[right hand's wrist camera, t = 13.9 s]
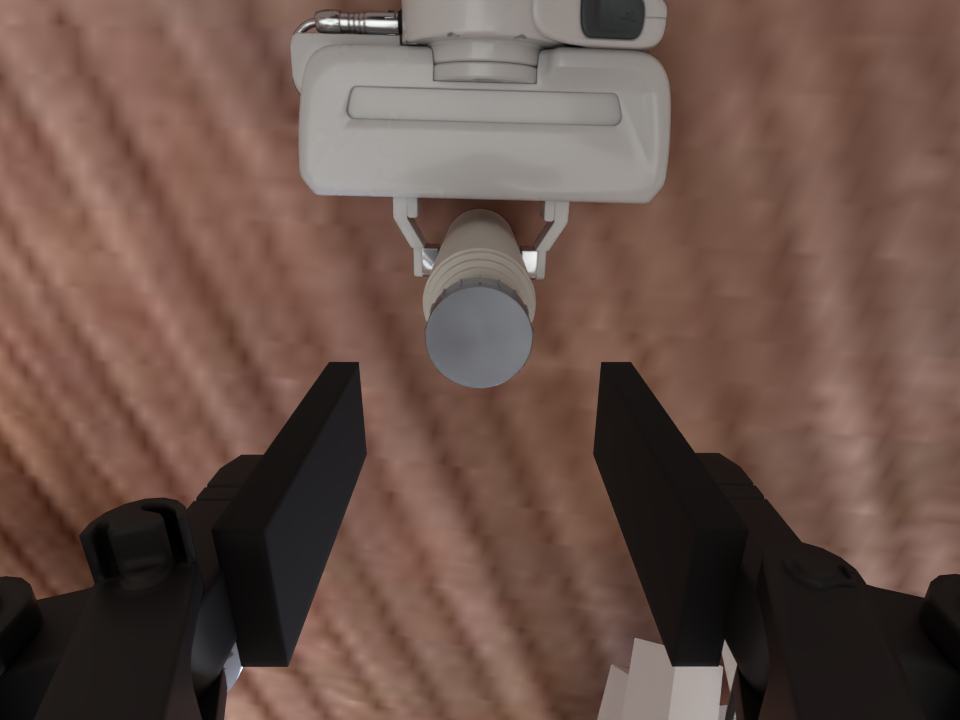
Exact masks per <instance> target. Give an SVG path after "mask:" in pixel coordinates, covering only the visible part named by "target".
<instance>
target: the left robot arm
mask: <svg viewBox="0 0 960 720" xmlns="http://www.w3.org/2000/svg"><path fill="white" fill-rule="evenodd" d="M401 5H402V9H400V11H361V12H350V13H349V12H341V10H335V9H326V10H319V11H316V12H315V17H314V18H311V19H309V20H306V21H305V22H303V23H302V24H301V25H300V26H299V27H298V28H297V29H296V30H295V32H294V34H293V36H292V39H291V44H290V55H291V66H292V77H293V82H294V85H295V88H296V90H297V91H298V93H299V95H300V96H301V97H300V109H299V169H300V175H301V177H302V179H303V180H304V182H305V183H306V184H307V185H308V187H309V188H310V189H311V190H312V191H313V192H314V193H315V194H317V195H336V196H373V197H393V218H394V220H395V221H396V223H397V225H398V226H399V228H400V230H401V231H402V233H403V235H404V236H405V238H406V240H407V241H408V243H409V245H410V246H411V248H413V255H414V276H418V277H429V275H430V273H431V270H432V268H433V265H434V263H435V260H436V258H437V255H438V253H439V251H440V244H432V243H427V242H426V240H425V238H424V236H423V234H422V233H421V231H420V229H419V227H418V225H417V224H416V222H415V220H414V218H416V217H417V216H418V215H419V214H420V213H421V198H449V199H487V200H524V201H541V214H540V215H541V217H542V218H543V219H544V220H545V221H548V222H547V223H546V225H545V227H544V228H543V230H542V231H541V233H540V235H539V236H538V238H537V239H536V241H535V243H534V244H533V246H520V253H521V255H522V258H523V260H524V263H525V266H526V268H527V271H528V273H529V276H530V279H537V280H544V276H545V266H546V251H549V250H550V248H551V247H552V245H553V244H554V242H555V241H556V239H557V238H558V236H559V235H560V233H561V232H562V230H563V229H564V227H565V226H566V224H567V223H568V214H569V203H570V202H600V203H639V204H645V203H648V202H650V201H651V200H652V199H653V198H654V197H655V196H656V195H657V193H658V192H659V191H660V190H661V189H662V187H663V186H664V183H665V179H666V173H667V166H668V157H669V146H670V127H671V94H670V85H669V80H668V77H667V74H666V71H665V69H664V67H663V66H662V64H661V63H660V62H659V61H658V60H657V59H656V58H655V57H654V56H652V55H650V54H648V52H649V51H651V50H652V49H653V48H654V47H655V46H656V45H657V44H658V43H659V42H660V41H661V39H662V37H663V35H664V31H665V27H666V21H667V20H666V19H667V6H666V3H665V2H664V0H401ZM314 27H316V29H317V31H318V32H320V33H305V32H306V31H308V30H309V29H311V28H314ZM343 33H350V34H343ZM351 33H354V34H351ZM356 33H357V34H356ZM401 34H402V38H401ZM402 44H403V46H402Z"/></svg>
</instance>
